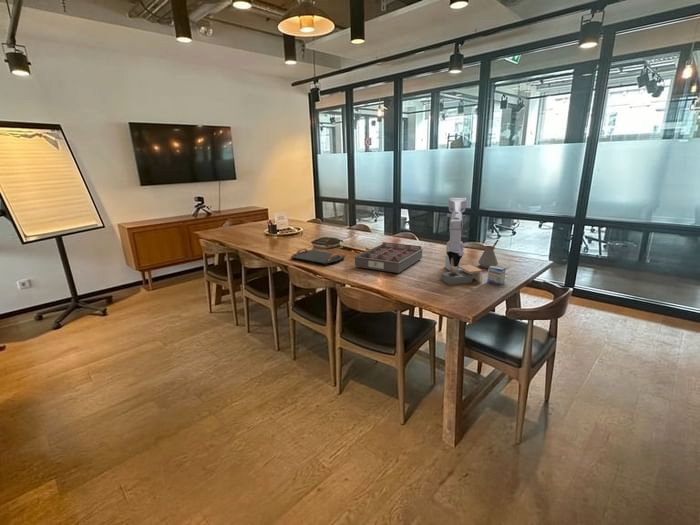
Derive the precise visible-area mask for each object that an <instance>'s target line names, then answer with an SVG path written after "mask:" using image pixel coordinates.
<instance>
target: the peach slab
mask: <svg viewBox="0 0 700 525" xmlns="http://www.w3.org/2000/svg"><path fill="white" fill-rule="evenodd" d="M458 268H460V269H462V270H463V271H465V272H467V273H469V274H471V275H473V280H475V281H476V282H479V283H482V281H483V270H482V269H480V268H479V267H476V266H474V265H472V264H463V265H461V264H460V266H458ZM462 270H461V271H462Z"/></svg>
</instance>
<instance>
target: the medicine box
mask: <svg viewBox="0 0 700 525" xmlns="http://www.w3.org/2000/svg"><path fill="white" fill-rule="evenodd" d="M487 269H488V270H487V271H488V272H487V283H490V284H496V285H499V286H500V285H501V286H502V285H503V284H504V283H505V278H506V271H507V269H506V268H505V267H501V266H497V265H496V266H490V267H489V268H487Z"/></svg>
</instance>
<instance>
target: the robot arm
mask: <svg viewBox="0 0 700 525" xmlns="http://www.w3.org/2000/svg"><path fill="white" fill-rule="evenodd" d="M466 208H467V198H466V197H449V199H448V211H449V212H450V213H451V215H450V216H451V218H450V221H449V241H447V242H446V249H445V250H446V252H445V253H446V256H445V262H444V263H445V264H444V266H443V268H445V269H446V270H448V271H450V268H451V258H453V263H454V267H456V266H457V271H462V269H460V268H458V266H461V259H462V258H463V257H464V252H465V251H464V243H463V241H461V240H462V230H463V222H464V220H463V214H462V213H464V212H465V211H466Z"/></svg>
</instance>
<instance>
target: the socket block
mask: <svg viewBox="0 0 700 525" xmlns="http://www.w3.org/2000/svg"><path fill="white" fill-rule="evenodd" d="M440 280H441V281H443V282H444V283H445V284H447V285H449V286H453V285H455V286H456V285H462V284H469V283H473V280H474V279H473V275H471V274H469V273H468V272H466V271H464V270H460V271H457V273H451V272H450V271H445V272H441V273H440Z"/></svg>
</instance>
